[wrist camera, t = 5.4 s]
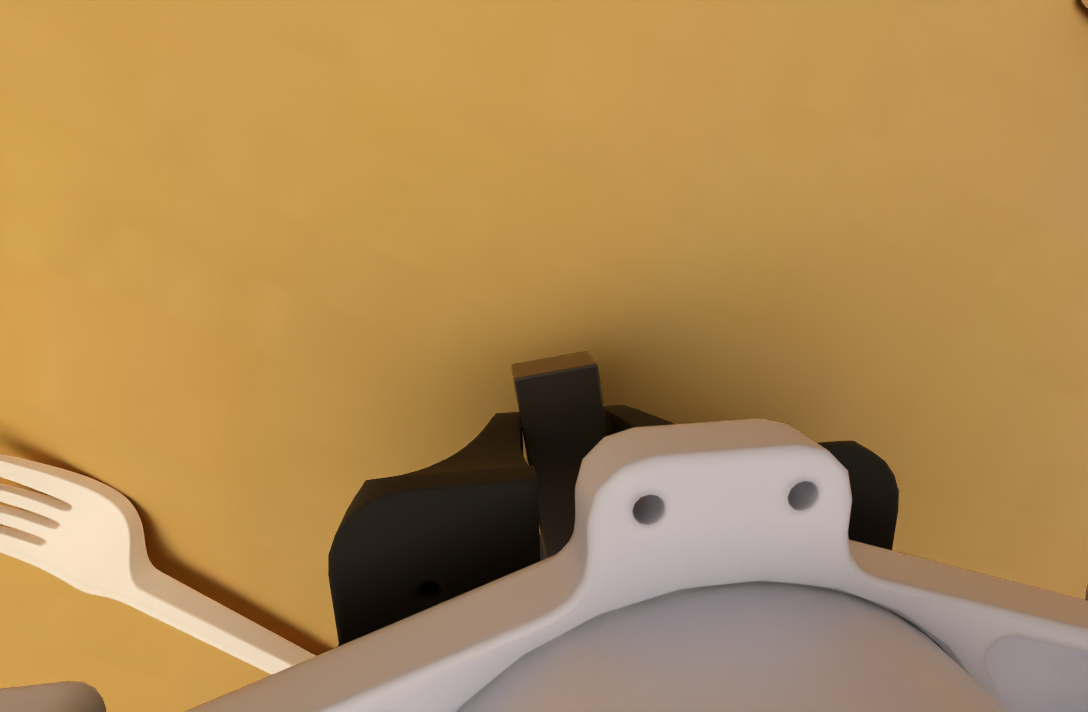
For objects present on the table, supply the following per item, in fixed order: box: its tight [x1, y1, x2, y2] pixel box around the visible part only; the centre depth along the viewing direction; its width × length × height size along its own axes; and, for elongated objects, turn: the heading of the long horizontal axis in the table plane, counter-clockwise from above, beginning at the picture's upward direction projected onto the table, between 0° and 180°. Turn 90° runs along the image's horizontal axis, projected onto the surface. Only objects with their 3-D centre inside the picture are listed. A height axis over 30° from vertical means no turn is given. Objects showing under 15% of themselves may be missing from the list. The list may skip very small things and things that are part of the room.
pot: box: [511, 351, 607, 561], centre depth 15 cm, size 17×10×6 cm, turn 9°
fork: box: [0, 454, 316, 675], centre depth 16 cm, size 3×20×2 cm, turn 49°
